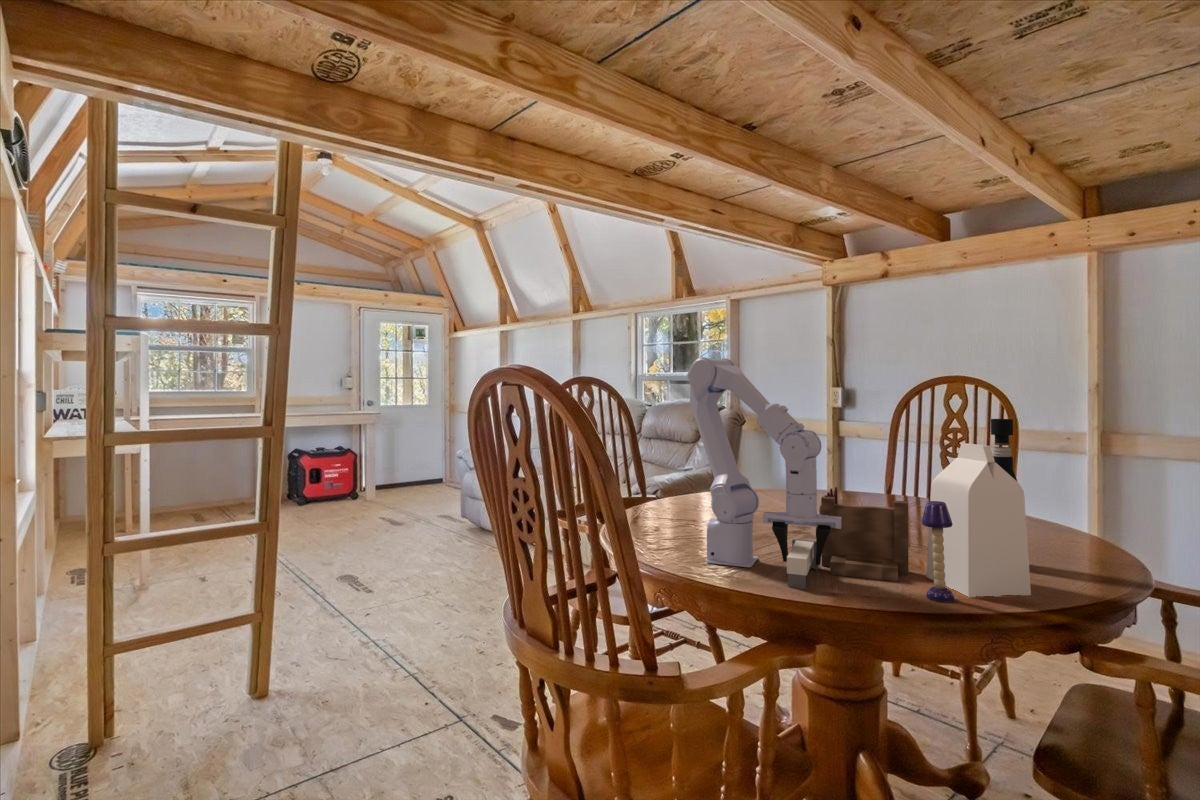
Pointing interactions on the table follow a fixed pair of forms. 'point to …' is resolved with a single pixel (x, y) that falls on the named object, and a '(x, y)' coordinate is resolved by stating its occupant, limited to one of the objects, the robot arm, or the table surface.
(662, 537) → the table surface
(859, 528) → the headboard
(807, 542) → the beige block
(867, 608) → the table surface
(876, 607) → the table surface
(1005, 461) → the wine bottle
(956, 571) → the milk
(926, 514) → the toy lamp
